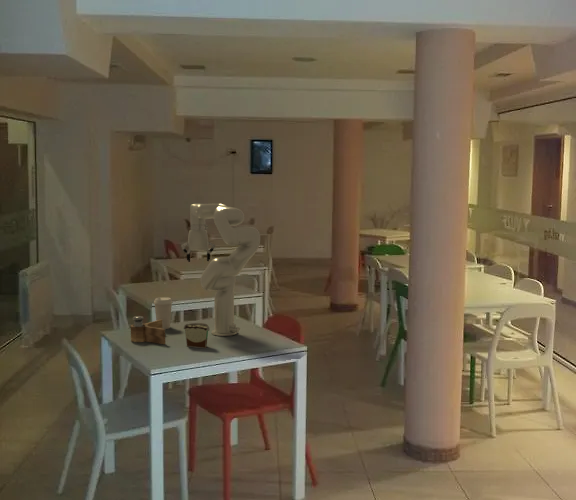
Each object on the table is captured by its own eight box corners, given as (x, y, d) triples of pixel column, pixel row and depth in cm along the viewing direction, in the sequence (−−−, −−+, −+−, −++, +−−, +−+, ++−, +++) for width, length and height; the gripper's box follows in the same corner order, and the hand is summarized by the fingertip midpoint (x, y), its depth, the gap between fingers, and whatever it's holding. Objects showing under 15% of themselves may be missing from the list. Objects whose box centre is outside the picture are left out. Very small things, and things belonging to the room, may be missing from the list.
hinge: (186, 337, 346) (186, 323, 345) (158, 345, 329) (158, 330, 328) (155, 332, 356) (155, 318, 355) (127, 340, 339) (127, 326, 339)
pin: (146, 339, 341) (145, 316, 340) (138, 341, 337) (138, 318, 336) (138, 338, 344) (137, 315, 343) (131, 340, 340) (130, 317, 338)
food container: (214, 345, 330) (214, 323, 329) (208, 348, 325) (208, 326, 323) (190, 343, 334) (189, 322, 333) (183, 346, 329) (183, 324, 327)
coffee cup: (157, 325, 372) (156, 296, 370) (175, 326, 371) (174, 297, 369) (151, 329, 363) (150, 300, 361) (169, 330, 361) (169, 300, 360)
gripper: (214, 227, 372) (214, 260, 374) (180, 227, 368) (180, 261, 370) (215, 228, 365) (216, 261, 367) (181, 229, 361) (182, 262, 363)
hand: (198, 261), depth 369 cm, fingers open, 9 cm apart
